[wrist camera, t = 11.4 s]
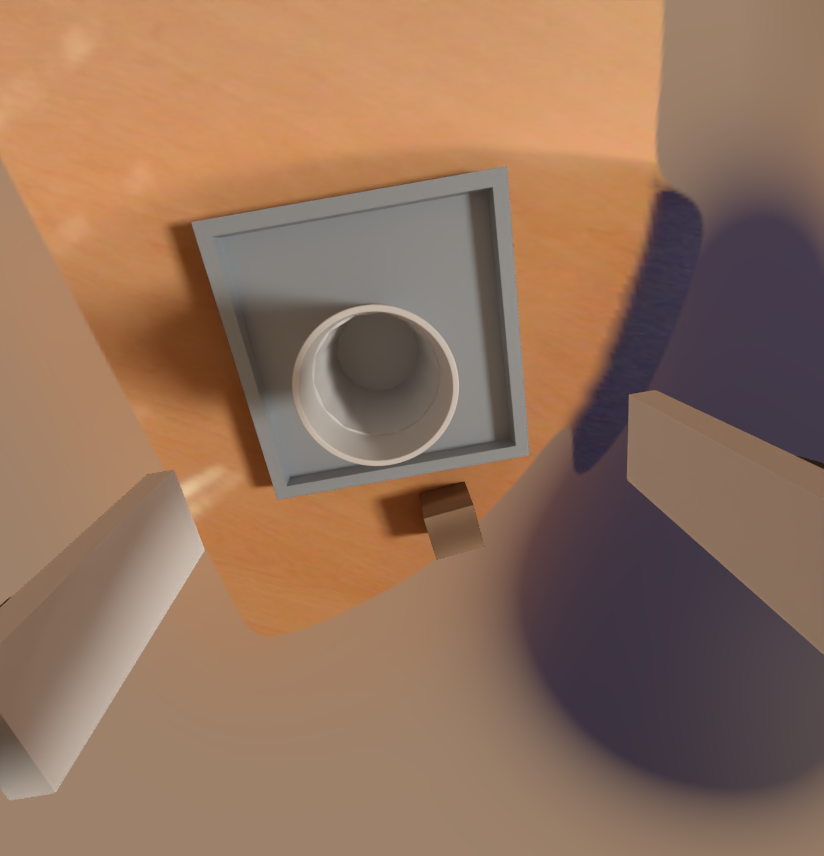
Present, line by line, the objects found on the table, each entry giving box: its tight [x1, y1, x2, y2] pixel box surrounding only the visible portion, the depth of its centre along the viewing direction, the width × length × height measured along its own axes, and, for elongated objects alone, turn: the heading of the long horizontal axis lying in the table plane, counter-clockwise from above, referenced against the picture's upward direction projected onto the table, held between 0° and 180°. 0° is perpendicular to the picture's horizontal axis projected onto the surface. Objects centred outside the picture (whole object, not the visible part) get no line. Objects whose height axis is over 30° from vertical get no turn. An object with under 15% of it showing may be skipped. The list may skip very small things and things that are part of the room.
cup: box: [292, 303, 459, 466], centre depth 27 cm, size 8×8×12 cm
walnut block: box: [420, 482, 484, 560], centre depth 37 cm, size 4×4×4 cm
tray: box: [191, 166, 530, 500], centre depth 32 cm, size 20×20×2 cm
